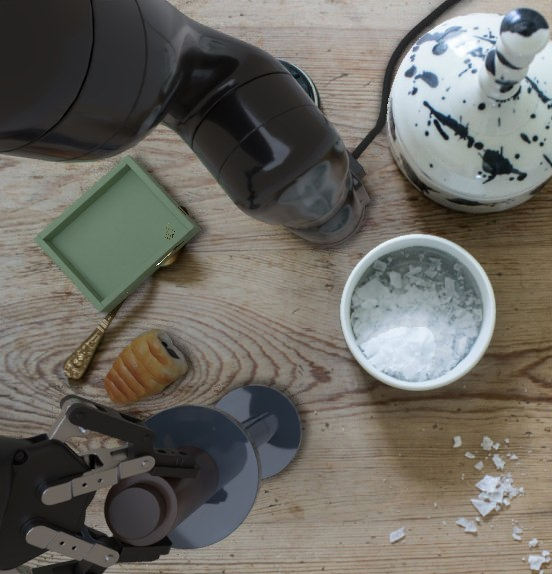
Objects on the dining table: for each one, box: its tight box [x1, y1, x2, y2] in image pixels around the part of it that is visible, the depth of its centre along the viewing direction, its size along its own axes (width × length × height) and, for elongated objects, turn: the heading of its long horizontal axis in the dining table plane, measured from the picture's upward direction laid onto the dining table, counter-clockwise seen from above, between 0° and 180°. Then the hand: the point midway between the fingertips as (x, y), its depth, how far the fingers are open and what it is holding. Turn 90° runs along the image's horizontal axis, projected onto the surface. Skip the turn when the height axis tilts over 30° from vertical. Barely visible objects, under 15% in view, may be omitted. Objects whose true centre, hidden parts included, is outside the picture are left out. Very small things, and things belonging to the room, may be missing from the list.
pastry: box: [103, 329, 189, 405], centre depth 71 cm, size 9×7×4 cm
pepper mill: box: [103, 446, 218, 546], centre depth 47 cm, size 5×5×10 cm
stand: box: [124, 383, 303, 550], centre depth 62 cm, size 12×12×21 cm
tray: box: [33, 154, 202, 313], centre depth 72 cm, size 15×12×2 cm
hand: (180, 505), depth 46 cm, fingers closed on pepper mill, 5 cm apart
